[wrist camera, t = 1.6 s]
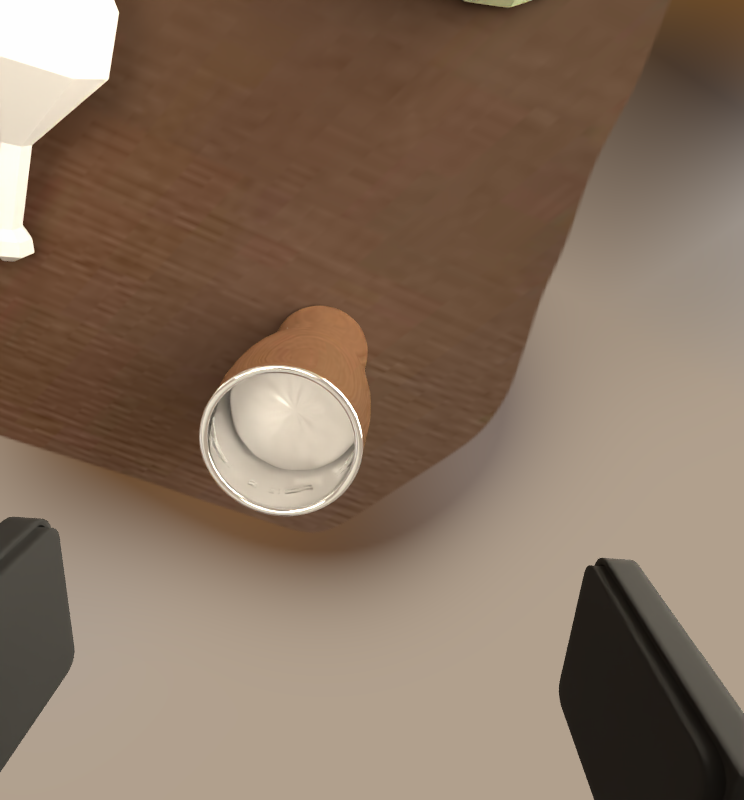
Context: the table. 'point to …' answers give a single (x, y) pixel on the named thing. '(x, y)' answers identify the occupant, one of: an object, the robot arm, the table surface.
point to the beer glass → (291, 416)
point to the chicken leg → (43, 88)
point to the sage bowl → (498, 2)
